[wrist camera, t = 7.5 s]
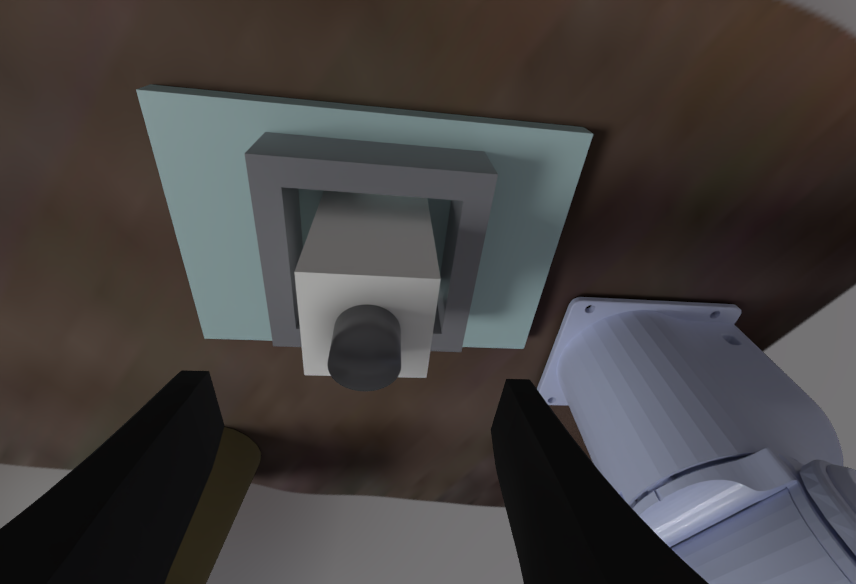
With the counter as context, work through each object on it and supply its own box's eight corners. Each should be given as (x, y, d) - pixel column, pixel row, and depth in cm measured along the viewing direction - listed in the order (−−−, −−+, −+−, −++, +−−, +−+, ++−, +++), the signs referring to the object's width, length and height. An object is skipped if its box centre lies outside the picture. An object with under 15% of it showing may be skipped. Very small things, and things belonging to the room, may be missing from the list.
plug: (427, 196, 16) (446, 312, 10) (418, 279, 19) (429, 414, 13) (324, 188, 16) (282, 305, 10) (328, 274, 18) (295, 412, 12)
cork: (276, 469, 28) (222, 686, 19) (194, 485, 29) (103, 704, 20) (234, 416, 25) (144, 650, 16) (141, 434, 25) (2, 672, 16)
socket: (583, 127, 16) (623, 154, 13) (518, 336, 23) (537, 385, 20) (150, 84, 14) (90, 105, 12) (212, 324, 21) (183, 376, 18)
